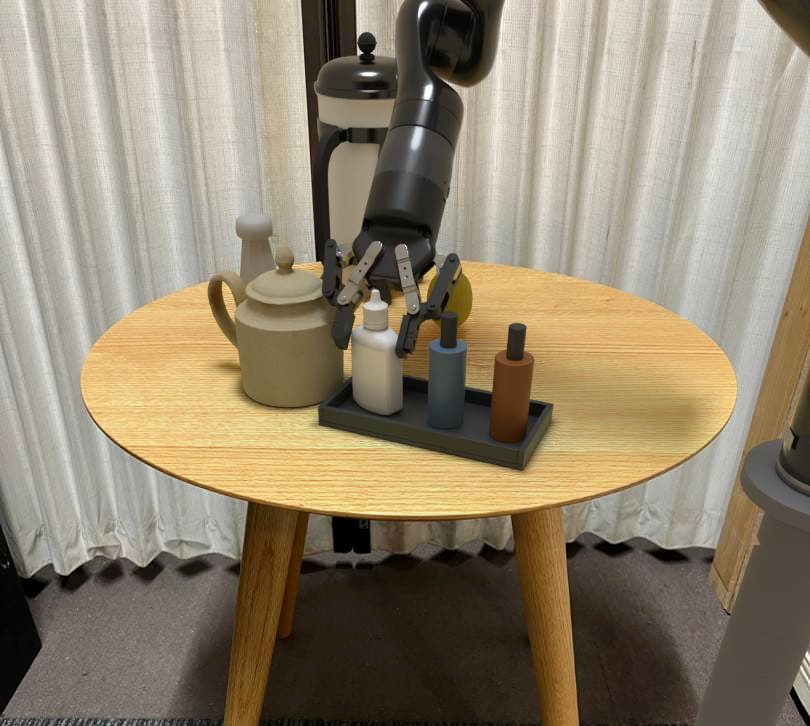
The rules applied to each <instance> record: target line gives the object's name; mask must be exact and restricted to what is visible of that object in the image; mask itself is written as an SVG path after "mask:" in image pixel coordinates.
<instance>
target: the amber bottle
mask: <svg viewBox="0 0 810 726" xmlns="http://www.w3.org/2000/svg"><path fill="white" fill-rule="evenodd" d="M527 329H528V327H527V325H526V324H524V323H522V322H512V323H510V324H509V325H508V330H507V339H506V340H507V341H506V349H503V350H499V351H498V352H496V354H495V355H494V365H493V376H492V377H493V378H492V389H491V390H492V401H491V413H490V426H489V434H490V436H491V437H492V438H493V439H495V440H497V441H501V442H506V443H513V442H518V441H521V440H523V439H524V438H525V436H526V431H527V422H528V413H529V404H530V399H531V394H532V393H531V392H532V386H533V375H534V367H535V357H534V355H533V354H532V353H530V352H528V351H525V348H526V347H525V346H526V338H527Z"/></svg>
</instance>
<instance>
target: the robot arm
mask: <svg viewBox="0 0 810 726" xmlns="http://www.w3.org/2000/svg"><path fill="white" fill-rule="evenodd" d="M505 2H506V0H403V1H402V3H401V5H400V7H399V10H398V13H397V15H396V19H395V26H394V58H395V61H396V96H395V102H394V107H393V112H392V116H391V120H390V124H389V128H388V132H387V136H386V139H385V142H384V144H383V147H382V149H381V152H380V154H379V157H378V161H377V165H376V169H375V173H374V177H373V181H372V185H371V189H370V193H369V197H368V201H367V205H366V209H365V213H364V217H363V221H362V228H361V231H360V233H359V235H358V236H357V237H356V238H355V240H354V241H353V243H342V244H337V242H336V241H335V240H334V239H329V240H327V241H326V243H325V252H324V266H323V265H322V266H323V267H322V274H323V280H322V294H323V295H324V297H325V298H326V299H327V301H328V302H329V304H330V305H331V306H333V307H337V310H336V314H335V318H334V323H333V327H332V330H331V336H332V338H333V340H334V341H335V345H336V346H337V347H338V348H339V349H341V350H344V351H347V350H348V348H349V344H350V342H351V333H352V331H353V330H354V325H355V321H356V320H355V319H356V315H355V313H356V312H357V310H358V308H359V307H360V306H361V304H362V303H363V302H364V300H367V299H368V298H370V297H371V292H372V290H375V289H388V288H390V290H392V291H395V292H399V293H403V295H404V300H405V301H404V302H405V306H406V314H402V317H401V323H400V327H399V331H398V334H397V335H398V339H397V343H396V347H395V353H396V355H397V356H398V358H400V359H403V360H407V359H408V356H409V355H413V353H414V352H415V351H416V346H417V342H418V338H419V334H420V330H421V326H422V324H423V323H424V322H426V321H430V320H431V321H432V319H433V320H435V321H439V320H441V314H442V313H443V312H445V311H446V308H447V306H448V304H449V301H450V299H451V297H452V294H453V292H454V290H455V287H456V285H457V283H458V280H459V278H460V276H461V274H462V273H463V267H462V263H461V260H460V258H459V255H458V254H457V253H455V252H450V253H448V254H442V253H440V252H437V249H436V246H437V241H438V237H439V234H440V229H441V226H442V225H441V224H442V222H443V217H444V212H445V209H446V208H445V207H446V204H447V200H448V198H449V196H450V192H451V184H452V178H453V169H454V160H455V155H456V151H457V147H458V143H459V139H460V134H461V130H462V127H463V121H464V116H465V106H464V105H465V104H464V102H463V99H462V97H461V95H460V94H459V93H458V92H457V90H455V88H453V86H451V85H450V84H452V85H454V86H457V87H460V88H464V89H471V88H474V87H476V86H479V85H480V84H481V83H482V82H484V81H485V80H486V79H487V78H488V76H489V75H490V74H491V72H492V70H493V67H494V65H495V61H496V59H497V55H498V49H499V41H500V33H501V23H502V18H503V11H504V6H505ZM756 2H757V3H758V4H759V6H760V7H761V8H762V9H763V11H765V13H766V14H767V15H768V17H769V18H770V19H771V20H772V21H773V22H774V24H775V25H776V26H777V27H778V28H779V29H780V30H781V31H782V33H783V34H784V35H785V36H786V37H787V38H788V39H789V40H790V41H791V42H792V43H793V44H794V45H795V46H796V47H797V48H798V49H799V50H800V51H801V52H802V53H803V54H804V55H805V56H806V57H807V58H808V59H809V60H810V0H756ZM448 83H449V84H448ZM353 256H355V257H356V260H357V262H358V265H357V266H356V268H355V269H354V271H353V272H352V273H351V275H350V276H349V281H348V283H347V285H344V287H343V284H342V274H343V267H347V265H348V262H349V259H350V258H351V257H353ZM434 267H435V272H436V274H437V275H438V278H437V280H436V283H435V285H434V287H433V290H432V292H431V294H430V296H429V299H428V301H427V300H426V301H423V302H422V295H421V290H420V285H419V283H418V281H419V280H420V279H421V278H422V277H423V276H424V277H425V276H426V274H427V273H429V272H430V271H431V270H432V269H433V268H434ZM424 277H423V278H424ZM342 287H343V289H342ZM781 436H782V438H784V443H783V445H782V448H781V451H780V453H779V455H778V458H777V461H776V464H775V471H776V473H777V475H778V477H779V478H780V479H781V480H782V481H783V482H784V483H785V484H786V485H787V486H789V487H790V488H792V489H794V490H795V491H797V492H799V493H801V494H803V495H806V496H808V497H810V363H809V364H808V367H807V370H806V372H805V376H804V378H803V382H802V385H801V389H800V390H799V394H798V398H797V400H796V404H795V406H794V409H793V413H792V416H791V419H790V422H789V424H788V421H786V422H785V425H784V428H783V430H782V434H781Z"/></svg>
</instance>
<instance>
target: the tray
mask: <svg viewBox="0 0 810 726" xmlns="http://www.w3.org/2000/svg"><path fill="white" fill-rule="evenodd" d="M491 401H492V391H491V390H486V389H481V388H476V387H471V386H466V385H465V399H464V416H463V423H462V424H461V425H460V426H458V427H456V428H452V429H440V428H436V427H433V426H432V425H430V424H429V423H428V421H427V410H428V378H425V377H422V376H421V377H420V376H415V375H410V374H406V373H405V374H404V373H403V406H402V409H401V410H399V411H397V412H395V413H393V414H391V415H380V414H376V413H373V412H370V411H368V410H365V409H364V408H362V407H361V406H359V405H358V404H357V403H356V402H355V400H354V398H353V385H352V375H351V376H350V377H348V378H347V379H346V381H344V383H343V384H342V385H341V386H340V387H339V388H338V389H337V390H336V391H334V392H333V393H332V394H331V395H330V396H329V397H328V398H327V399H326V400H325V401H323V402H320V403H319V405H318V406H317V414H318V416H317V417H318V425H320V426H325V427H329V428H334V429H337V430H343V431H347V432H351V433H354V434H355V433H356V434H359V435H360V434H361V435H365V436H369V437H374V438H378V439H382V440H388V441H392V442H396V443H401V444H405V445H409V446H414V447H418V448H422V449H426V450H431V451H436V452H440V453H445V454H449V455H453V456H459V457H462V458H466V459H471V460H476V461H481V462H485V463H489V464H493V465H498V466H502V467H507V468H511V469H516V470H520V471H523V470H524V468H525V466H526V465H527V463H528V462H529V460H530V458H531V456H532V455H533V454H534V451H535V450H536V448H537V446H538V445H539V443H540V441H541V440H542V438H543V436H544V435H545V433H546V431H547V430H548V427H549V426H550V425H551V423H552V421H553V420H552V419H553V412H554V405H555V404H554V403H551V402H548V401H541V400H537V399H531V398H530V404H529V413H528V422H527V431H526V436H525V438H524V439H523V440H521V441H518V442H513V443H506V442H501V441H497V440H495V439H493V438H492V437H491V436H490V434H489V426H490V413H491Z"/></svg>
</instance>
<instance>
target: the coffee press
mask: <svg viewBox="0 0 810 726" xmlns="http://www.w3.org/2000/svg"><path fill="white" fill-rule="evenodd" d="M377 44H378V42H377V39H376V37H375V35H374V34H373V33H372V32H369V31H364V32H362V33H361V34H359V36H358V38H357V41H356V45H357V48H358V49H359V51H360V52H361V53H359V55H348V56H342V57H337V58H334V59H331V60H329V61H327V62H326V63H325V64H324V65H323V66H322V67H321V69H320V70H319V72H318V75H317V80H315V81H314V83H313V89H314V92H315V95H316V96H317V104H318V105H317V106H318V107H317V108H318V116H317V117H316V121H317V134H318V143H317V146H316V149H315V153H314V158H313V168H312V187H313V188H312V189H313V190H312V191H313V211H314V227H315V240H316V241H315V243H316V249H317V254H318V255H317V256H318V258H319V261H320V263H321V265H322V266H324V252H325V243H326V241H327V240H329V239H334V240H335V241H336V242H337V244H342V243H353V241H354V240H355V238H356V237H357V236H358V235H359V233H360V231H361V228H362V221H363V217H364V213H365V209H366V205H367V201H368V197H369V193H370V189H371V185H372V181H373V177H374V173H375V169H376V165H377V161H378V157H379V154H380V152H381V149H382V147H383V144H384V142H385V139H386V136H387V132H388V128H389V124H390V120H391V116H392V112H393V107H394V102H395V96H396V61H395V57H393V56H385V55H375V54H374V53H373V52H374V51H375V50H376V47H377ZM357 265H358V262H357V260H356V257H355V256H353V257H351V258H350V259H349V262H348V265H347V267H343V274H342V286H346V285H347V283H348V281H349V276H350V275H351V273H352V272H353V271H354V269H355V268H356V266H357ZM424 277H425V275H424V276H423V277H422V278H421V279H420V280H419V281H418V284H419V283H421V282H423V280H424ZM319 279H321V280H323V273H322V274H321V276H320V277H319ZM374 290H379V293H380V298H381V301H383V302H385V303H387V304H388V305H390V304H392V302H393V296H392V291H391V290H392V289H390V288H388V289H374Z"/></svg>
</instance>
